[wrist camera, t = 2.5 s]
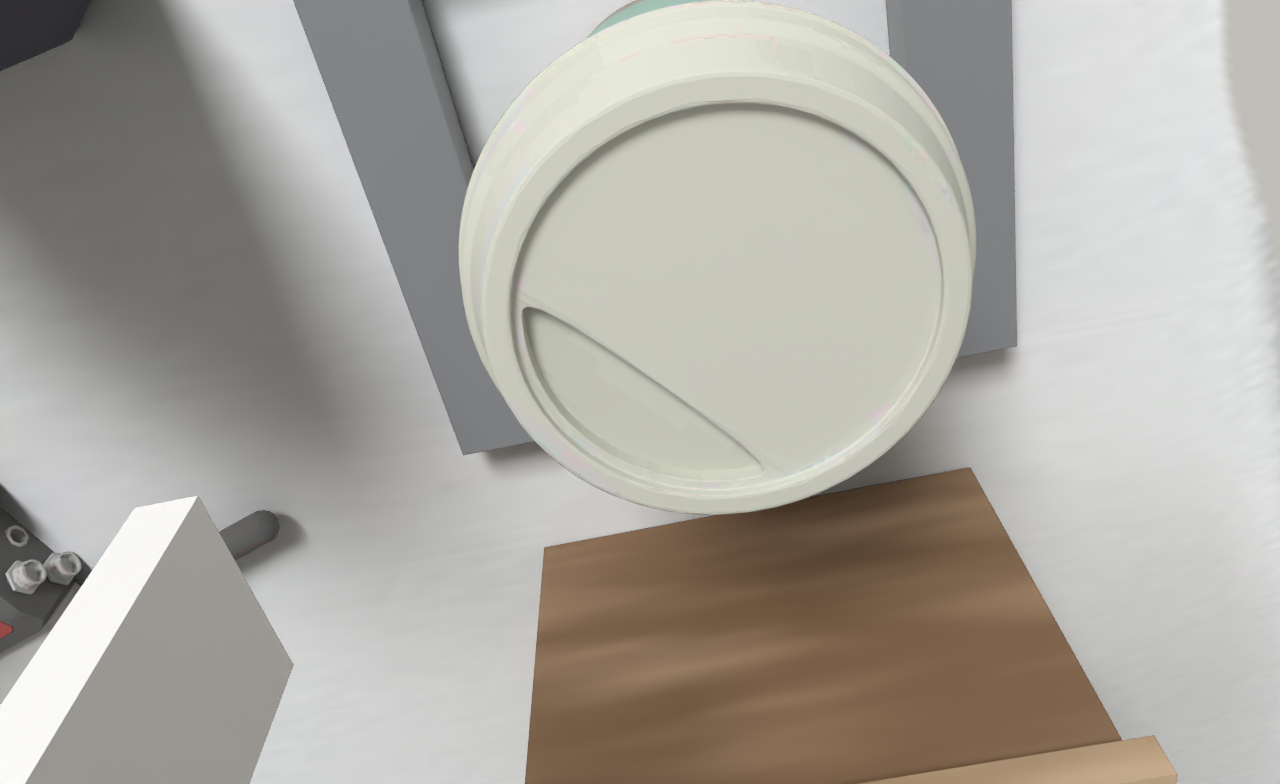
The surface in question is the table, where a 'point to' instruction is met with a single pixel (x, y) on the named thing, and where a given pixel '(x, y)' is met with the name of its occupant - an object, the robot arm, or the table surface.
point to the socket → (442, 168)
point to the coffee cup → (718, 255)
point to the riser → (817, 653)
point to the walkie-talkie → (66, 585)
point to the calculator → (36, 27)
